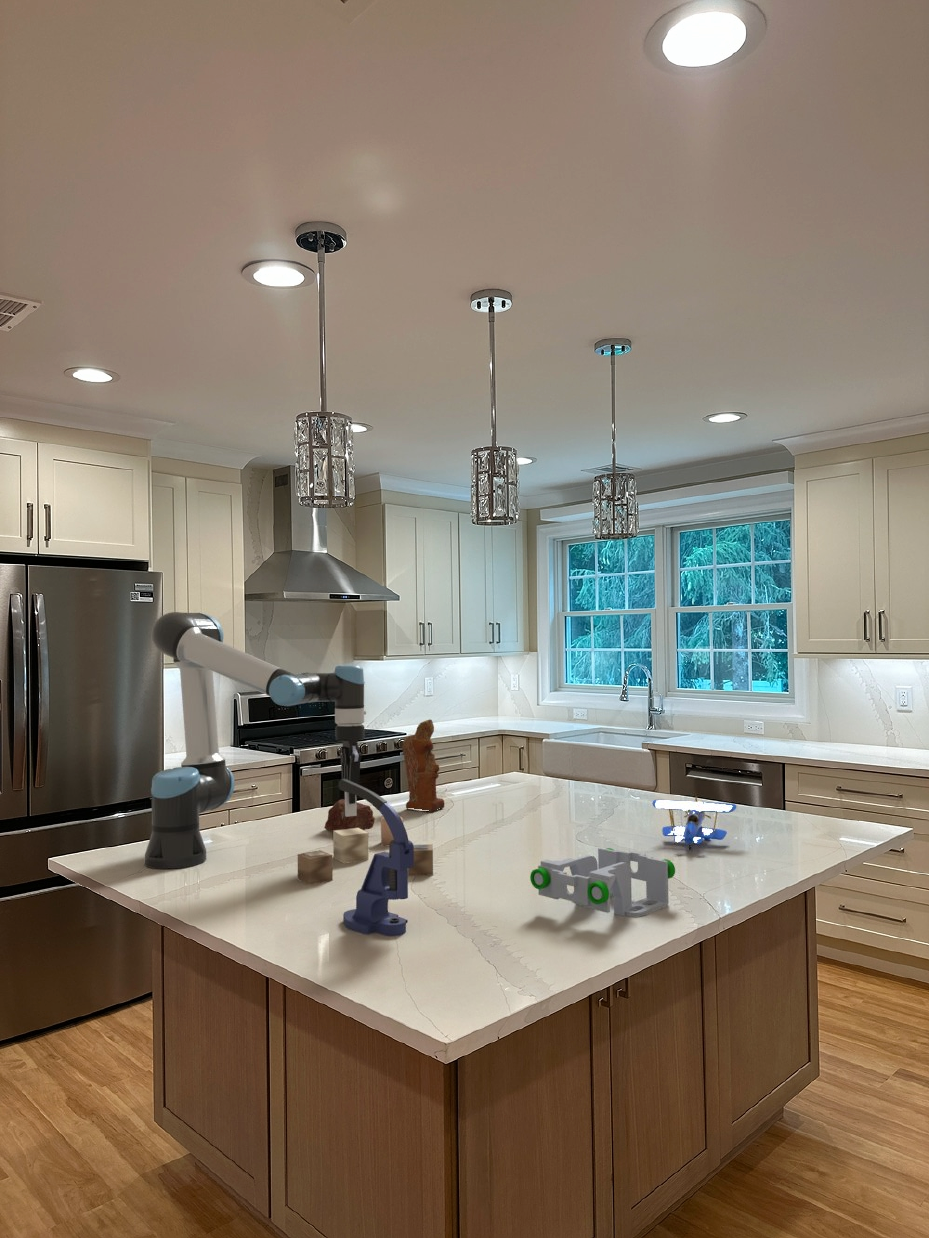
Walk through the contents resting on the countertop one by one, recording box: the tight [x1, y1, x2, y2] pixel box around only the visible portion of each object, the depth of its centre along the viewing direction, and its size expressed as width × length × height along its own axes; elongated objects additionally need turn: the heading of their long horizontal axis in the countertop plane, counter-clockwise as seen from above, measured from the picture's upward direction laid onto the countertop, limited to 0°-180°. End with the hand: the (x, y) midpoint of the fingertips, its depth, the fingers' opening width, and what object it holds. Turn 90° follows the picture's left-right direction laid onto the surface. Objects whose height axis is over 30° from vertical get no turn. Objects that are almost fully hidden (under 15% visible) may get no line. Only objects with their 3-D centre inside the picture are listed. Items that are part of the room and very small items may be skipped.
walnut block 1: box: [297, 850, 334, 886], centre depth 204 cm, size 6×6×6 cm
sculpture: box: [401, 719, 445, 812], centre depth 289 cm, size 13×9×30 cm
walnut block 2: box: [408, 843, 434, 877], centre depth 210 cm, size 6×6×6 cm
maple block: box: [332, 828, 369, 864], centre depth 224 cm, size 7×7×7 cm
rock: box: [324, 798, 376, 832], centre depth 255 cm, size 18×6×9 cm, turn 50°
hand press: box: [338, 778, 414, 937], centre depth 171 cm, size 19×9×28 cm, turn 50°
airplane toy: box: [652, 796, 738, 851], centre depth 236 cm, size 25×22×13 cm
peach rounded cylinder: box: [380, 816, 404, 846], centre depth 241 cm, size 6×6×7 cm
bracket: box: [529, 847, 676, 918], centre depth 180 cm, size 19×25×10 cm
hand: (350, 815), depth 224 cm, fingers closed
